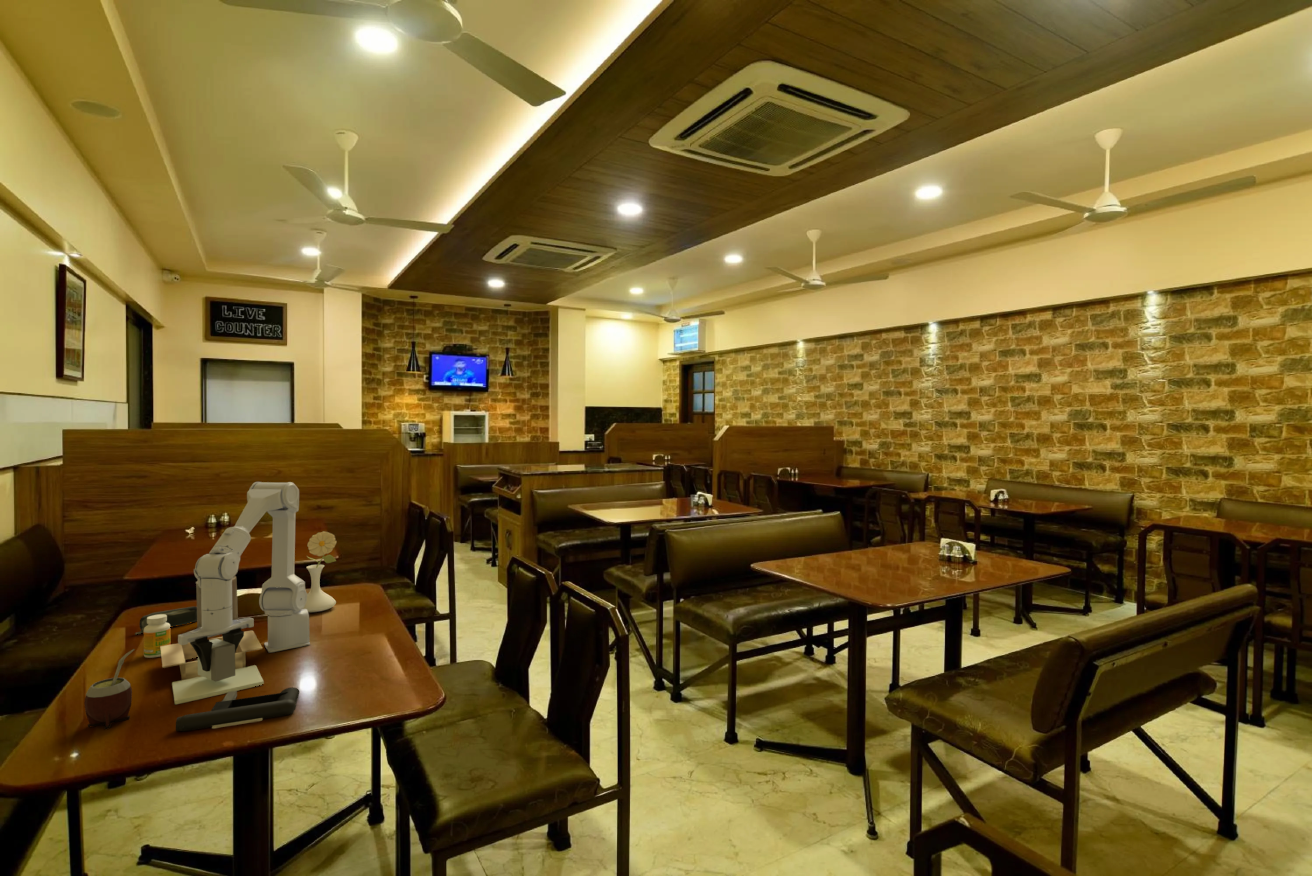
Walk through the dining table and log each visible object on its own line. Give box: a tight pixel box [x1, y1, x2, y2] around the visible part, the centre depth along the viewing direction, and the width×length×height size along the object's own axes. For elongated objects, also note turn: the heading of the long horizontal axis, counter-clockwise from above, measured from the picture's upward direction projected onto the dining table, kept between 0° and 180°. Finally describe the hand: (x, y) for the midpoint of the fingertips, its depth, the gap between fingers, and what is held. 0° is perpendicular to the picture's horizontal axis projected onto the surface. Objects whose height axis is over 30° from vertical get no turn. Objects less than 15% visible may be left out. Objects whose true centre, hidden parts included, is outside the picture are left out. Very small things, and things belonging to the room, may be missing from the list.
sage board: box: [171, 664, 265, 705], centre depth 143 cm, size 16×12×1 cm
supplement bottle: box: [143, 614, 172, 659], centre depth 161 cm, size 5×5×10 cm
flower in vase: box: [303, 531, 337, 613], centre depth 198 cm, size 13×11×25 cm
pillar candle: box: [195, 575, 239, 629], centre depth 183 cm, size 10×10×15 cm
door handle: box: [175, 686, 300, 732], centre depth 131 cm, size 3×20×16 cm
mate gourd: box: [84, 648, 136, 730], centre depth 125 cm, size 8×8×15 cm
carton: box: [160, 630, 263, 680], centre depth 154 cm, size 19×16×4 cm
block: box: [197, 639, 235, 682], centre depth 143 cm, size 4×8×7 cm, turn 59°
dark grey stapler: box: [134, 605, 197, 636], centre depth 181 cm, size 5×3×15 cm
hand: (217, 666), depth 142 cm, fingers closed on block, 4 cm apart
